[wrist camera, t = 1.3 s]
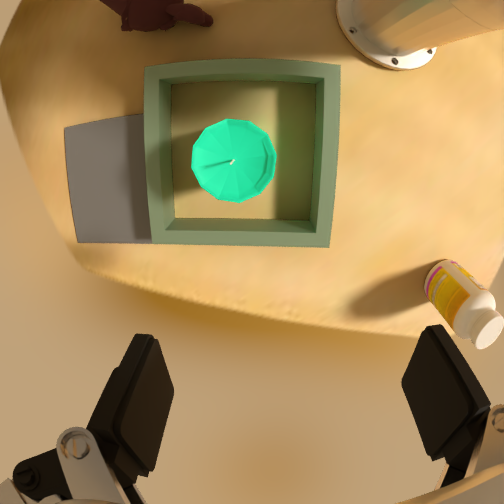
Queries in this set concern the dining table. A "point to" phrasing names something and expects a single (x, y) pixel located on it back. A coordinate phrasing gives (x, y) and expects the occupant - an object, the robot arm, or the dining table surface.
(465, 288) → the supplement bottle
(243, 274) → the dining table surface
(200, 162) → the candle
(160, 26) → the icecream
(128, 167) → the rubber mat
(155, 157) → the box
